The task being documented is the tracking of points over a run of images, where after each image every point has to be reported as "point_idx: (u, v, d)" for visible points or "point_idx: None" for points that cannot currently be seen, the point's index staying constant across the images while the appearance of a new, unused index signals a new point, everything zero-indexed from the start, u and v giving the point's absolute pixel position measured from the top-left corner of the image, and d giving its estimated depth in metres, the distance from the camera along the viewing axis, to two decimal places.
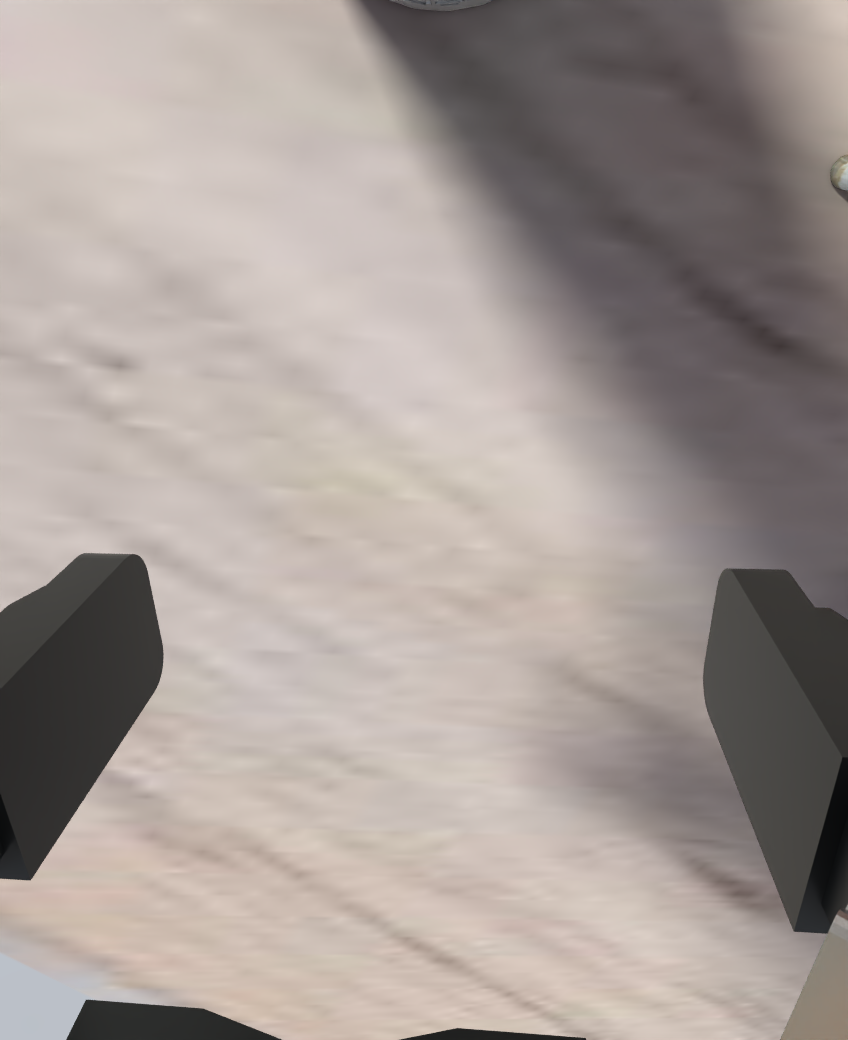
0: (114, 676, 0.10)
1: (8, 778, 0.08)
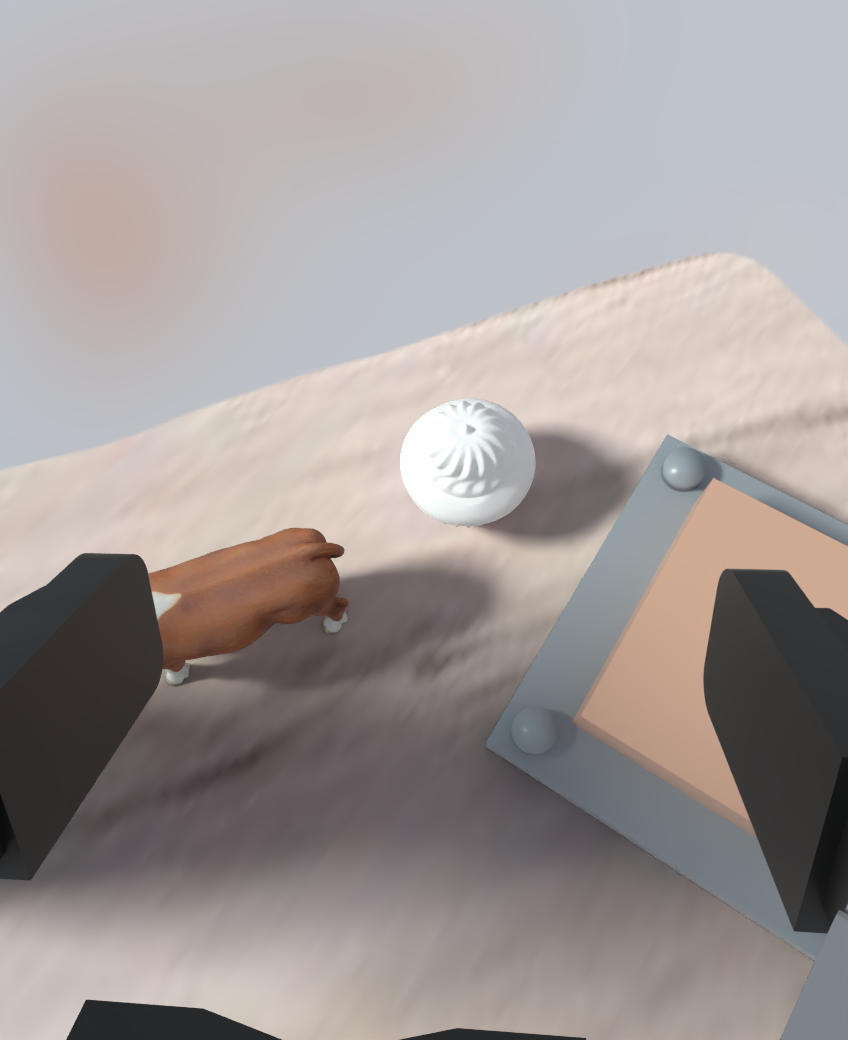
0: (114, 676, 0.10)
1: (8, 778, 0.08)
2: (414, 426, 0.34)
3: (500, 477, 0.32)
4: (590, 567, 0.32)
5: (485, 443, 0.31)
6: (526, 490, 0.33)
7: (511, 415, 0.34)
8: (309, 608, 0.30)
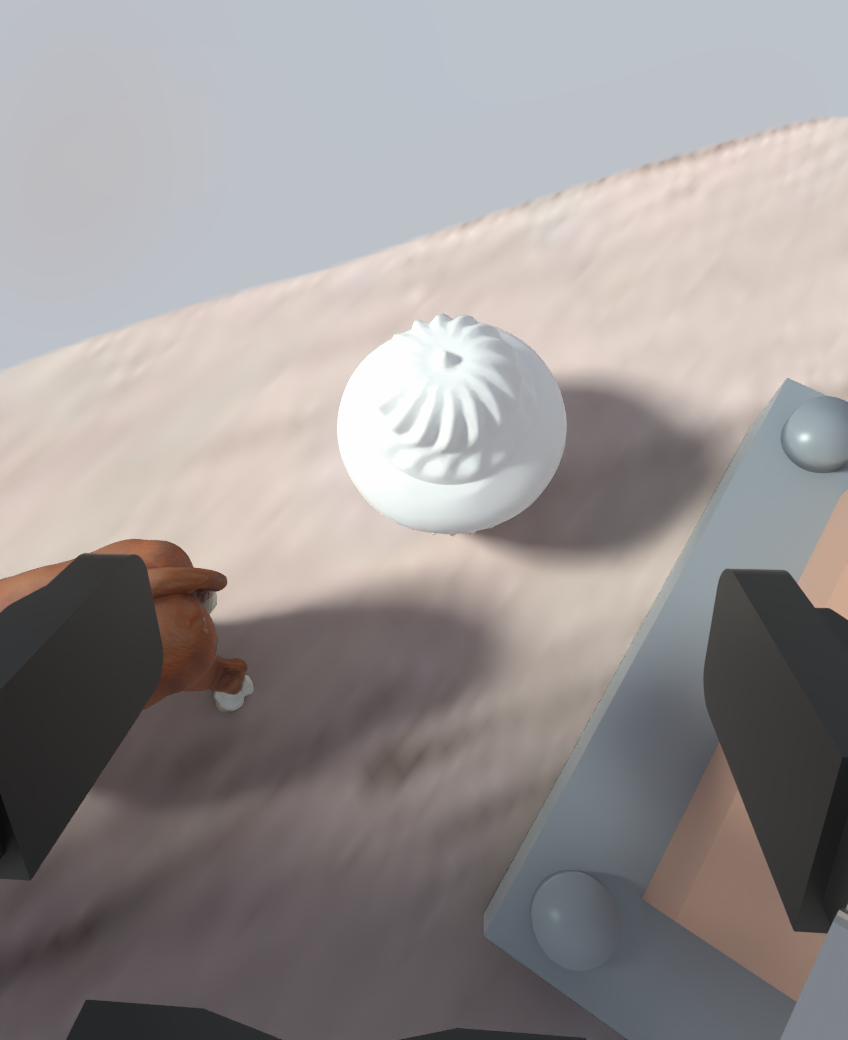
0: (114, 676, 0.10)
1: (8, 778, 0.08)
2: (361, 366, 0.20)
3: (507, 448, 0.18)
4: (666, 605, 0.18)
5: (480, 384, 0.17)
6: (552, 472, 0.19)
7: (525, 345, 0.20)
8: None
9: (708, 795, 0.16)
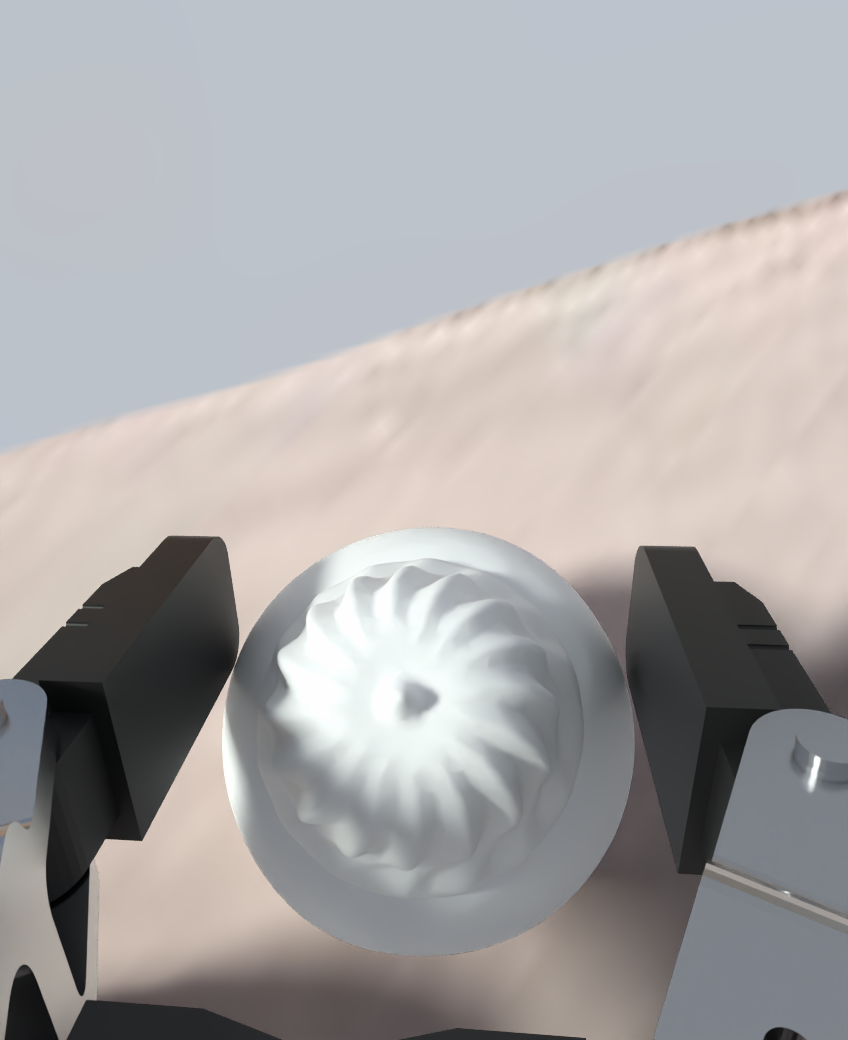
0: (203, 652, 0.10)
1: (126, 742, 0.08)
2: (265, 620, 0.11)
3: (529, 837, 0.09)
4: None
5: (476, 760, 0.08)
6: (610, 841, 0.10)
7: (558, 587, 0.11)
8: None
9: None
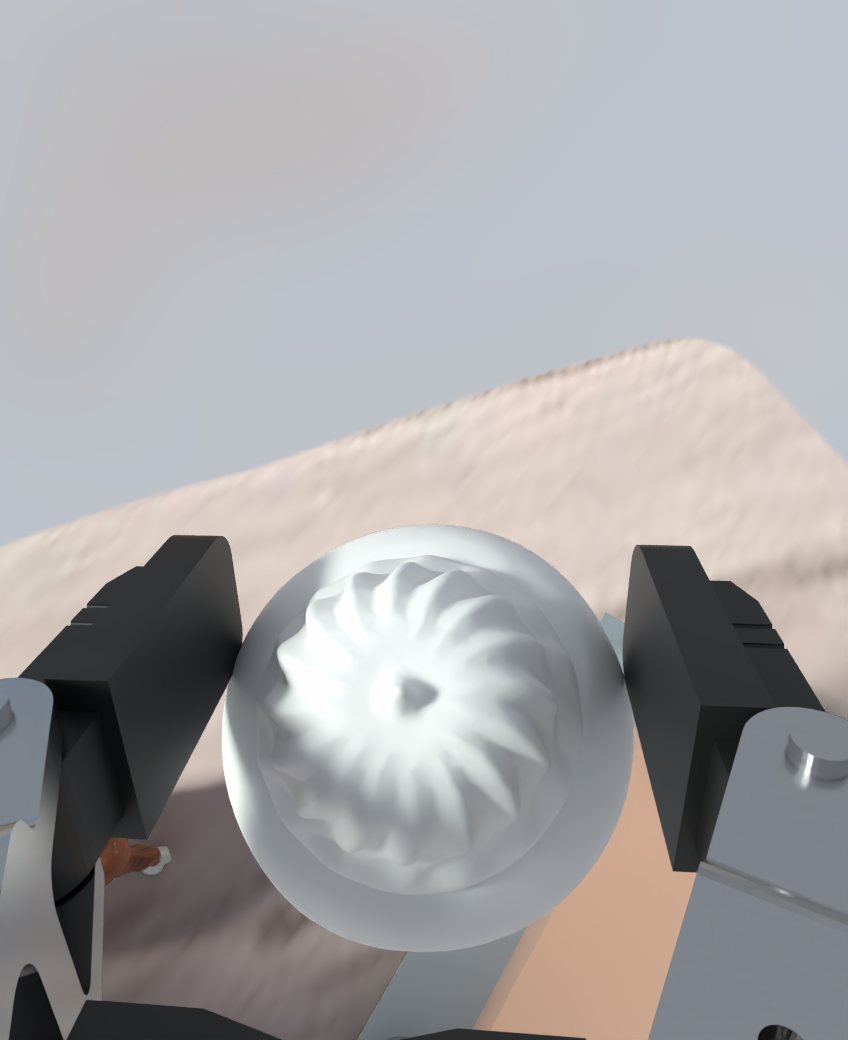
0: (207, 651, 0.10)
1: (132, 741, 0.08)
2: (265, 616, 0.11)
3: (527, 834, 0.09)
4: None
5: (474, 755, 0.08)
6: (609, 838, 0.10)
7: (558, 585, 0.11)
8: None
9: (502, 986, 0.20)
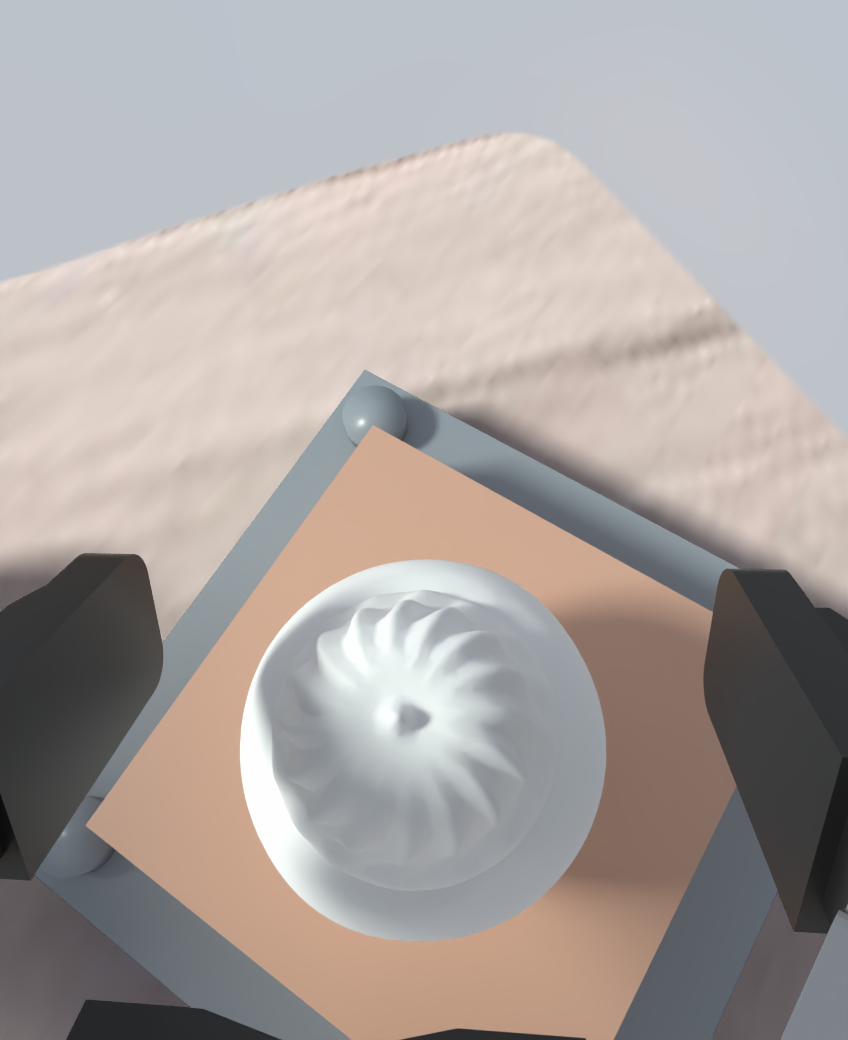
0: (114, 676, 0.10)
1: (8, 778, 0.08)
2: (279, 642, 0.12)
3: (508, 838, 0.10)
4: (218, 570, 0.21)
5: (461, 772, 0.09)
6: (582, 843, 0.12)
7: (540, 616, 0.12)
8: None
9: None
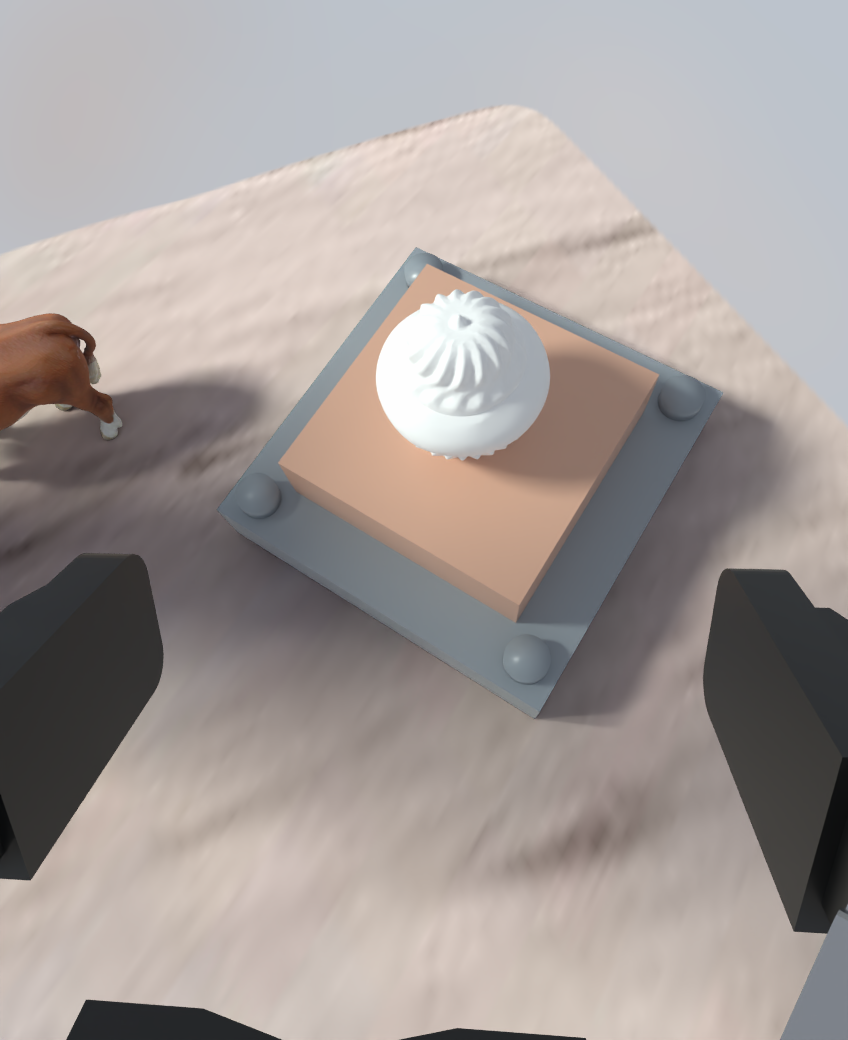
0: (114, 676, 0.10)
1: (8, 778, 0.08)
2: (395, 330, 0.26)
3: (503, 389, 0.24)
4: (330, 361, 0.34)
5: (484, 339, 0.23)
6: (537, 410, 0.25)
7: (519, 315, 0.26)
8: (53, 385, 0.32)
9: None
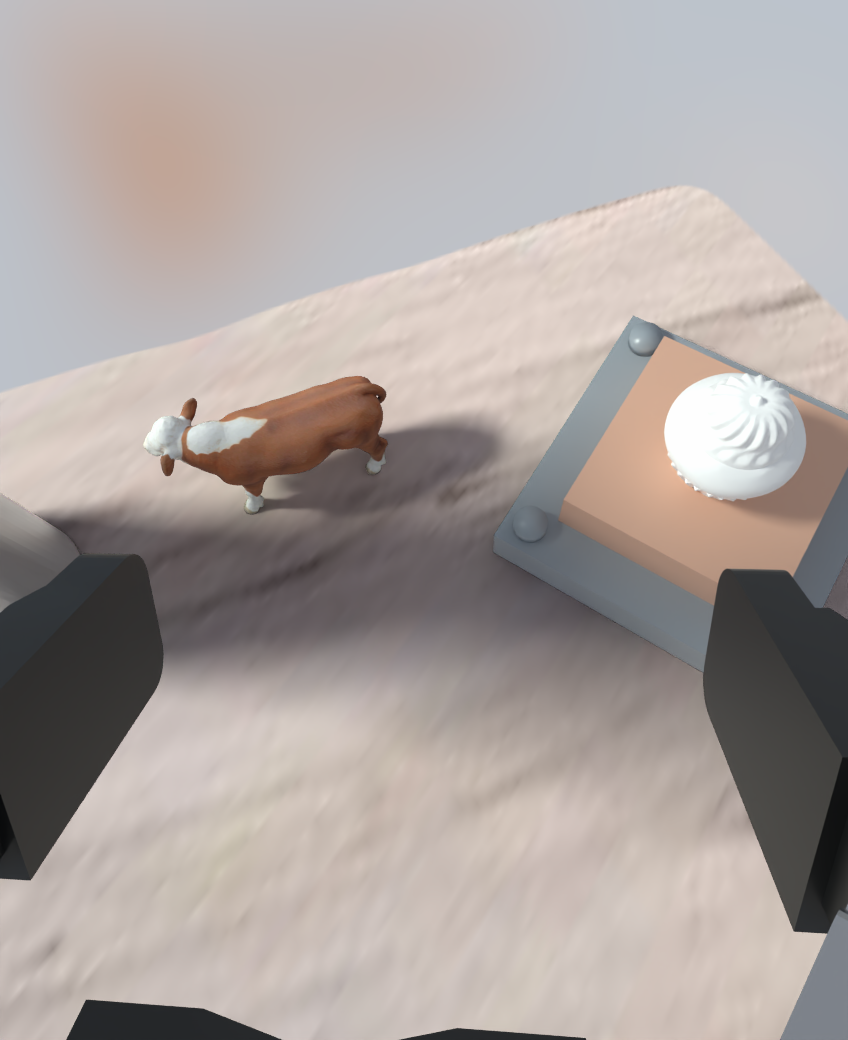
0: (114, 676, 0.10)
1: (8, 778, 0.08)
2: (682, 400, 0.34)
3: (783, 449, 0.32)
4: (573, 411, 0.42)
5: (779, 414, 0.31)
6: (800, 463, 0.33)
7: None
8: (361, 434, 0.40)
9: None
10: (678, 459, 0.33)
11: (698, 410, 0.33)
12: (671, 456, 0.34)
